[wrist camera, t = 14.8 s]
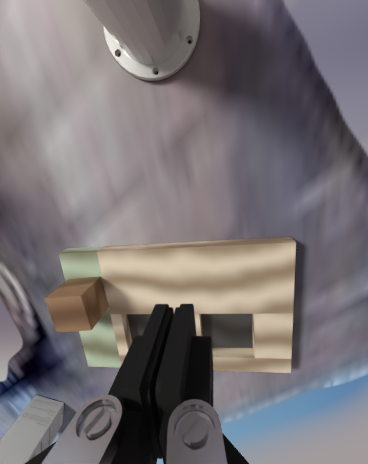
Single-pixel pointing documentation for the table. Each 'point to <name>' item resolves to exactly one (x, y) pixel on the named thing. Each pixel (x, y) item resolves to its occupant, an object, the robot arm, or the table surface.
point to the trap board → (195, 297)
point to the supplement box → (32, 431)
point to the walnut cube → (77, 304)
